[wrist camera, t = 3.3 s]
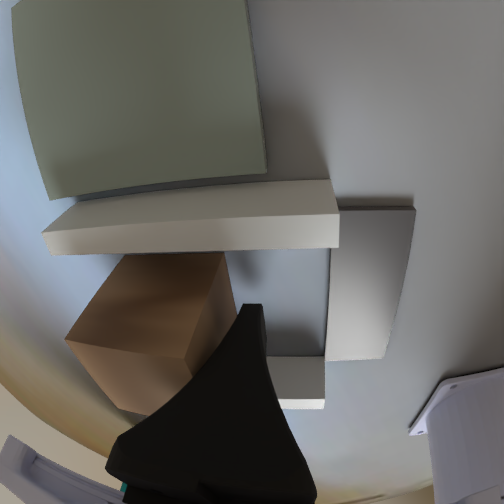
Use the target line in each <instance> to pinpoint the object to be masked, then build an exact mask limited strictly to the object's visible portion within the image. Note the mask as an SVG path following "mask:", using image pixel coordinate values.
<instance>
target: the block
mask: <svg viewBox="0 0 504 504" xmlns="http://www.w3.org/2000/svg"><path fill="white" fill-rule="evenodd" d="M236 317H237V312H236V307H235V303H234V298H233V293H232V289H231V284H230V279H229V274H228V269H227V264H226V260H225V255H224V253H185V254H147V255H125V256H124V257H123V258H122V259H121V261H120V262H119V263H118V265H117V266H116V267H115V268H114V270H113V271H112V272H111V274H110V275H109V276H108V278H107V279H106V280H105V282H104V283H103V284H102V286H101V287H100V288H99V290H98V291H97V293H96V294H95V295H94V297H93V298H92V300H91V301H90V302H89V304H88V305H87V307H86V308H85V309H84V311H83V312H82V314H81V315H80V317H79V318H78V320H77V321H76V322H75V324H74V325H73V327H72V328H71V330H70V331H69V333H68V334H67V336H66V337H65V339H64V340H65V341H66V343H67V344H68V346H69V347H70V348H71V350H72V351H73V353H74V354H75V355H76V357H77V358H78V359H79V361H80V362H81V364H82V365H83V366H84V367H85V369H86V370H87V371H88V373H89V374H90V375H91V377H92V378H93V379H94V380H95V382H96V383H97V384H98V385H99V386H100V388H101V389H102V390H103V391H104V393H105V394H106V395H107V396H108V397H109V398H110V400H111V401H112V402H113V403H114V404H115V405H116V406H117V408H118V409H122V410H126V411H130V412H134V413H138V414H142V415H147V416H150V415H151V414H153V413H154V412H155V411H156V410H158V409H159V408H160V407H162V406H163V405H164V404H165V403H166V402H168V401H169V400H170V399H171V398H172V397H173V396H174V395H175V394H176V393H178V392H179V391H180V390H181V389H182V388H183V387H184V386H185V385H186V384H187V383H188V382H189V381H190V380H191V379H192V377H193V376H194V375H195V374H196V373H197V372H198V371H199V370H200V368H201V367H202V366H203V365H204V364H205V362H206V361H207V360H208V358H209V357H210V356H211V355H212V353H213V352H214V351H215V349H216V348H217V347H218V345H219V344H220V342H221V341H222V339H223V338H224V336H225V335H226V333H227V332H228V330H229V329H230V327H231V326H232V324H233V322H234V321H235V319H236Z"/></svg>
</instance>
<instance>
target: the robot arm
mask: <svg viewBox="0 0 504 504" xmlns="http://www.w3.org/2000/svg"><path fill="white" fill-rule="evenodd" d="M266 343H267V337H266V329H265V321H264V313H263V306H262V304H243V305H242V307H241V309H240V312H239V314H238V315H237V317H236V319H235V321H234V322H233V324H232V326H231V327H230V329H229V330H228V332H227V333H226V335H225V336H224V338H223V339H222V341H221V342H220V344H219V345H218V347H217V348H216V349H215V351H214V352H213V353H212V355H211V356H210V357H209V358H208V360H207V361H206V362H205V364H204V365H203V366H202V367H201V368H200V370H199V371H198V372H197V373H196V374H195V375H194V376H193V377H192V379H191V380H190V381H189V382H188V383H187V384H186V385H185V386H184V387H183V388H182V389H181V390H180V391H179V392H178V393H176V394H175V395H174V396H173V397H172V398H171V399H170V400H169V401H168V402H166V403H165V404H164V405H163V406H162V407H160V408H159V409H158V410H156V411H155V412H154V413H153V414H151V415H150V416H149V417H147V418H146V419H145V420H143V421H142V422H140V423H139V424H137V425H136V426H134V427H132V428H131V429H129V430H128V431H126V432H124V433H123V434H121V435H119V436H118V437H117V440H116V442H115V443H114V445H113V447H112V450H111V452H110V455H109V458H108V461H107V463H106V466H105V469H106V471H107V472H108V473H109V474H110V475H112V476H114V477H115V478H117V479H119V480H120V481H122V482H123V483H125V484H127V487H126V490H125V492H122V491H119V490H116V489H113V488H111V487H108V486H106V485H103V484H101V483H98V482H96V481H93V480H91V479H88V478H86V477H84V476H82V475H80V474H77V473H75V472H73V471H71V470H69V469H67V468H64V467H63V466H61V465H59V464H57V463H55V462H53V461H51V460H49V459H47V458H45V457H44V456H42V455H40V454H38V453H37V452H36V451H35V450H33V449H32V448H30V447H29V446H28V445H26V444H24V443H23V442H21V441H20V440H18V439H17V438H15V437H13V436H12V435H9V436H8V438H7V440H6V442H5V444H4V446H3V449H2V451H1V453H0V483H2V484H3V485H4V486H5V487H6V488H8V489H9V490H10V491H11V492H12V493H14V494H15V495H16V496H17V497H18V498H20V499H21V500H22V501H23V502H24V503H25V504H315V500H316V498H317V490H316V487H315V484H314V481H313V478H312V475H311V473H310V470H309V468H308V465H307V462H306V460H305V458H304V456H303V454H302V452H301V450H300V449H299V447H298V445H297V443H296V441H295V439H294V436H293V434H292V432H291V430H290V428H289V426H288V423H287V421H286V418H285V416H284V413H283V411H282V409H281V406H280V404H279V401H278V398H277V395H276V392H275V389H274V386H273V383H272V380H271V376H270V373H269V369H268V365H267V361H266ZM408 432H409V435H411V436H412V435H419V434H425V433H427V434H428V441H429V448H430V456H431V464H432V473H433V484H434V497H435V504H504V367H503V368H499V369H495V370H491V371H486V372H482V373H477V374H472V375H467V376H462V377H456V378H450V379H446V380H444V381H442V382H441V383H440V384H439V386H438V387H437V389H436V391H435V392H434V394H433V396H432V397H431V399H430V400H429V402H428V403H427V405H426V406H425V408H424V409H423V411H422V412H421V414H420V415H419V417H418V418H417V419H416V421H415V422H414V424H413V425H412V426H411V428H410V429H409V431H408Z"/></svg>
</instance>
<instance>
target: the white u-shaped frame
mask: <svg viewBox="0 0 504 504" xmlns="http://www.w3.org/2000/svg"><path fill="white" fill-rule="evenodd" d="M415 216H416V209H415V208H414V207H407V206H384V207H338V206H337V202H336V198H335V194H334V190H333V187H332V183H331V179H325V180H294V181H272V182H255V183H239V184H226V185H213V186H202V187H191V188H181V189H171V190H162V191H153V192H145V193H137V194H129V195H121V196H114V197H107V198H100V199H94V200H87V201H81V202H77V203H75V204H74V205H73V206H72V207H70V208H69V209H68V210H67V211H66V212H64V213H63V214H62V215H61V216H60V217H58V218H57V219H56V220H55V221H54V222H53V223H52V224H50V225H49V226H48V227H47V228H46V229H45V230H44V231H43V232H41V233H42V236H43V238H44V240H45V243H46V245H47V247H48V249H49V252H50V254H51V255H84V254H119V253H155V252H192V251H229V250H267V249H307V248H330V276H329V298H328V315H327V330H326V343H325V355H324V356H317V357H273V356H266V361H267V365H268V369H269V373H270V376H271V380H272V383H273V386H274V389H275V392H276V395H277V398H278V401H279V404H280V406H281V409H324V402H325V361H344V360H364V359H380V358H384V354H385V351H386V348H387V345H388V341H389V338H390V334H391V331H392V327H393V324H394V320H395V316H396V312H397V308H398V304H399V300H400V296H401V292H402V287H403V283H404V278H405V273H406V269H407V264H408V258H409V253H410V248H411V242H412V236H413V230H414V223H415Z"/></svg>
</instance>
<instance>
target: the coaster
mask: <svg viewBox="0 0 504 504" xmlns="http://www.w3.org/2000/svg"><path fill="white" fill-rule="evenodd" d="M11 9H12V30H13V42H14V52H15V60H16V68H17V75H18V81H19V87H20V93H21V98H22V103H23V108H24V113H25V117H26V121H27V126H28V130H29V134H30V138H31V142H32V145H33V149H34V153H35V156H36V160H37V163H38V166H39V170H40V173H41V176H42V179H43V182H44V185H45V188H46V191H47V194H48V197H49V200H55V199H61V198H66V197H71V196H77V195H82V194H88V193H94V192H100V191H106V190H113V189H119V188H126V187H133V186H140V185H148V184H156V183H164V182H172V181H181V180H191V179H200V178H211V177H222V176H235V175H248V174H264V173H266V171H267V158H266V149H265V140H264V131H263V122H262V114H261V105H260V97H259V89H258V81H257V73H256V65H255V57H254V49H253V42H252V34H251V27H250V20H249V13H248V6H247V0H21V1H20V2H19V3H17V4H16V5H15V6H13V7H12V8H11Z"/></svg>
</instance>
